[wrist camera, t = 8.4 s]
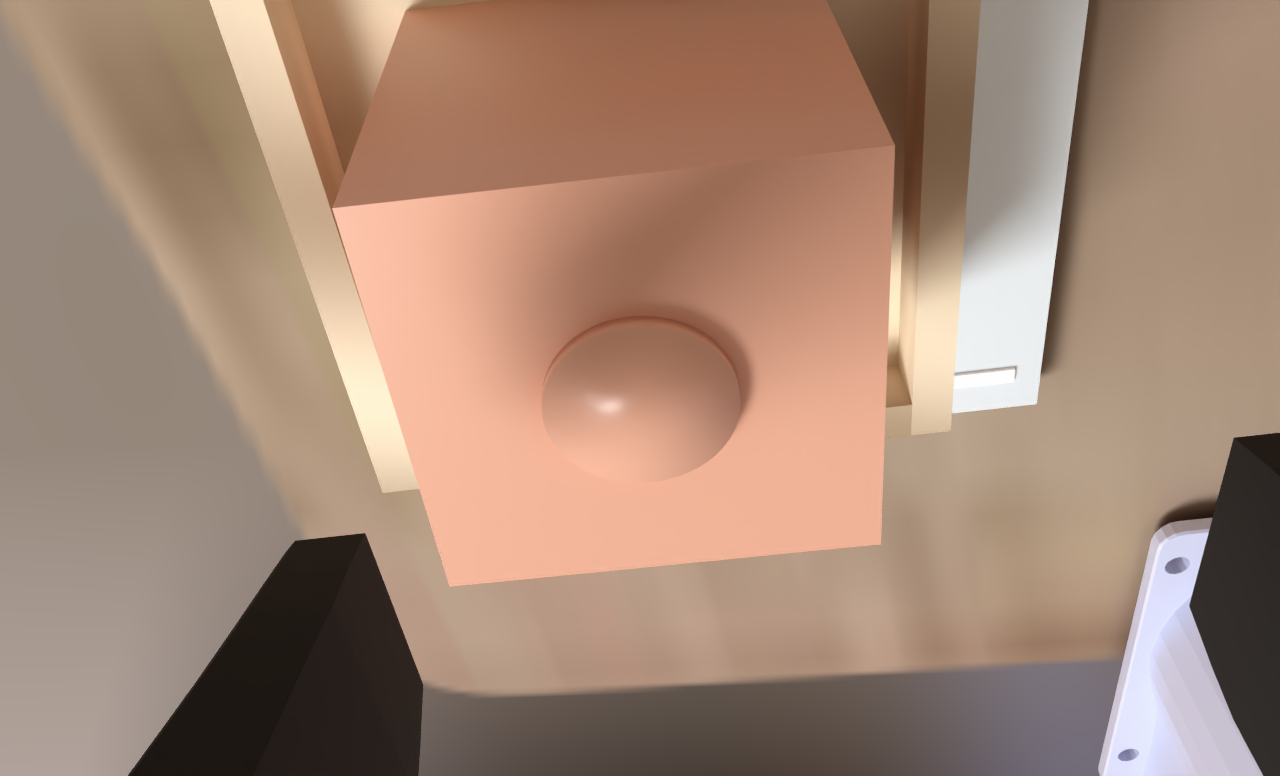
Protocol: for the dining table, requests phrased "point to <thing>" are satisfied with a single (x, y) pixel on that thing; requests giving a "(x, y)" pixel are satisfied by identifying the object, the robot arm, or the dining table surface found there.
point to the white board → (1015, 195)
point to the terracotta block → (628, 280)
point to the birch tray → (375, 3)
